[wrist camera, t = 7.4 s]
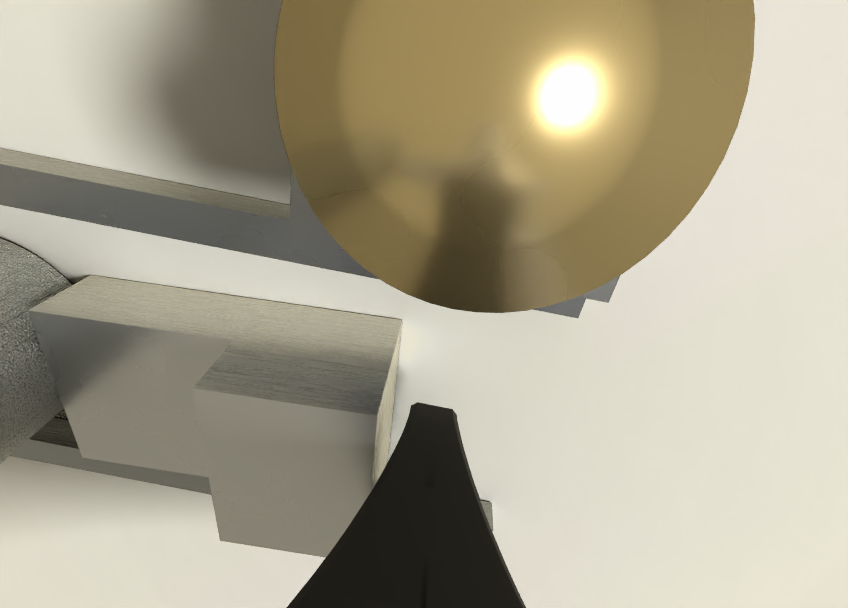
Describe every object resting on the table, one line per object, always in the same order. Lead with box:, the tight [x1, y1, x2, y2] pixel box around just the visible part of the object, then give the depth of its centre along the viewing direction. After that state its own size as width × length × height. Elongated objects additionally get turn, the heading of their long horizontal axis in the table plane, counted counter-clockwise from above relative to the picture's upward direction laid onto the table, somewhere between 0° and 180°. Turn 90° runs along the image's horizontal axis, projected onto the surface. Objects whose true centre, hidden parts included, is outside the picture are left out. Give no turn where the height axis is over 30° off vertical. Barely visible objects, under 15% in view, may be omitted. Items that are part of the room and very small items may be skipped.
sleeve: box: [0, 148, 586, 531], centre depth 10 cm, size 14×8×1 cm, turn 80°
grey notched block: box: [28, 275, 402, 557], centre depth 9 cm, size 7×4×3 cm, turn 84°
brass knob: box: [274, 0, 755, 313], centre depth 5 cm, size 3×3×5 cm
